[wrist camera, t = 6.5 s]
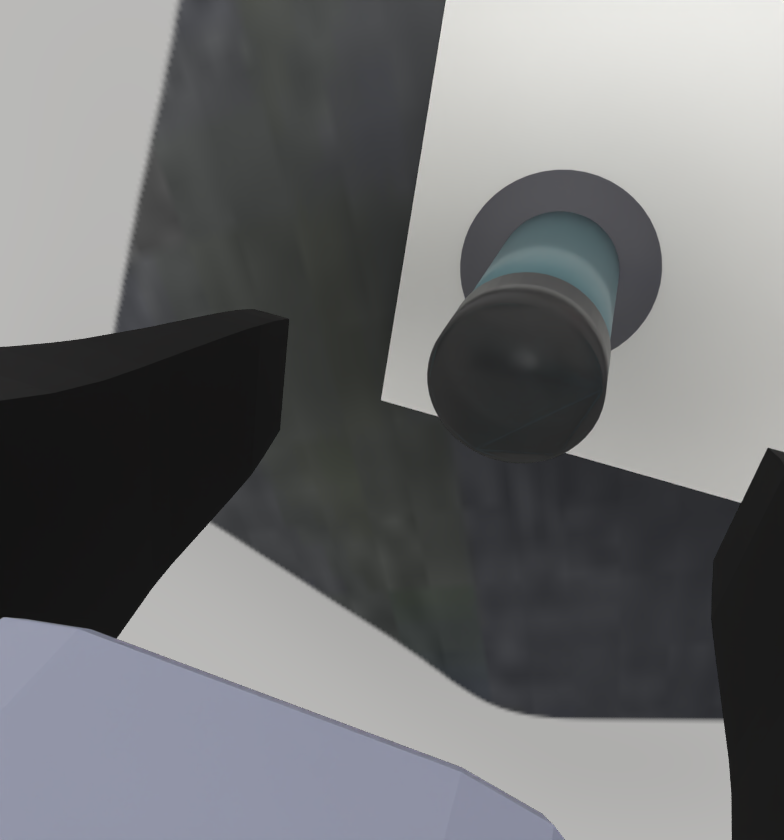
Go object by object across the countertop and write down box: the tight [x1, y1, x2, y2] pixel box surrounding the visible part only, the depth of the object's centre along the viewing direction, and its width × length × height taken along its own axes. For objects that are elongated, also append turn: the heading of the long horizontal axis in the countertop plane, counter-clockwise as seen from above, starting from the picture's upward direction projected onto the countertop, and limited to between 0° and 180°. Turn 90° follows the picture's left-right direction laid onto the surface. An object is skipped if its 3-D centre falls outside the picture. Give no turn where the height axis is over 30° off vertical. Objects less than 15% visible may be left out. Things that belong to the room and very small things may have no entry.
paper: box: [381, 0, 784, 503], centre depth 18 cm, size 16×12×1 cm
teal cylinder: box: [427, 211, 620, 463], centre depth 16 cm, size 3×3×7 cm
